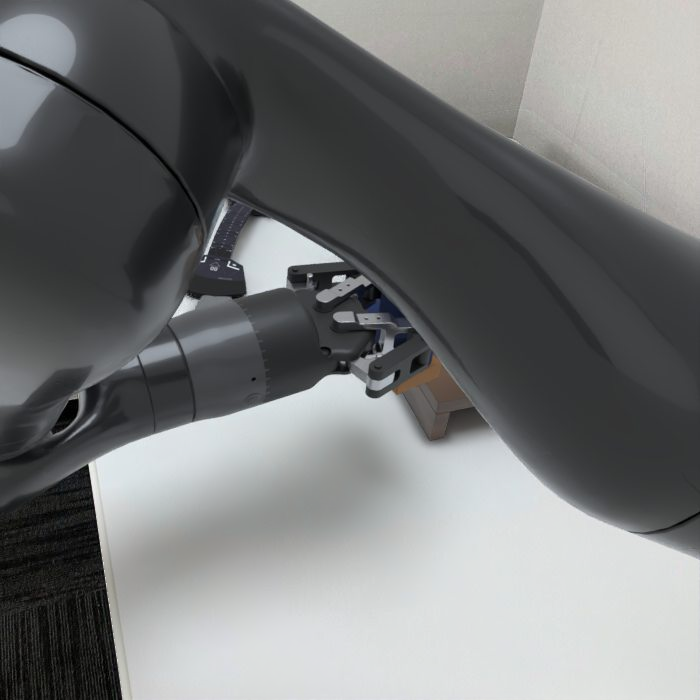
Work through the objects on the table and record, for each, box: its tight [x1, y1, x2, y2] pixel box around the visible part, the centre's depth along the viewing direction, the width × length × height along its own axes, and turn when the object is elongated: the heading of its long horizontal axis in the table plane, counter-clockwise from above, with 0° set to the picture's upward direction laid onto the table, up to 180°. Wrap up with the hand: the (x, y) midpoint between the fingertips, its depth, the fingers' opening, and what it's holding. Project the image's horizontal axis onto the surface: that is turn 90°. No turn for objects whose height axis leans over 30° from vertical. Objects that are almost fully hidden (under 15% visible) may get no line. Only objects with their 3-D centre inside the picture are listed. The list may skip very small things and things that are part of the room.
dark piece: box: [187, 198, 269, 299], centre depth 95 cm, size 9×25×3 cm, turn 170°
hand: (439, 297), depth 61 cm, fingers closed on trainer, 5 cm apart
